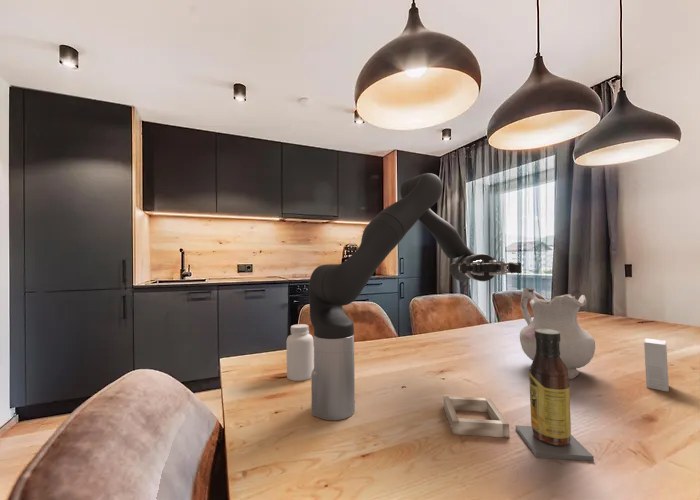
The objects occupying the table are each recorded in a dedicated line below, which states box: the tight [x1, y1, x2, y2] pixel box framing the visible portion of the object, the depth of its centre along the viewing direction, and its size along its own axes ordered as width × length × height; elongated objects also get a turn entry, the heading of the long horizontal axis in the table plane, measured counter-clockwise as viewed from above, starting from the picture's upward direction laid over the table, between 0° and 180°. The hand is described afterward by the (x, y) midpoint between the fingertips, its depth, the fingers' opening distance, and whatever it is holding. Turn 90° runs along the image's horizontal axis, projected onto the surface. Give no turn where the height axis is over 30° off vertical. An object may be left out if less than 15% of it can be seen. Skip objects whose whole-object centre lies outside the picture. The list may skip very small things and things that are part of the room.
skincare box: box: [643, 338, 670, 393], centre depth 83 cm, size 6×4×12 cm
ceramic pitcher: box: [519, 287, 596, 380], centre depth 97 cm, size 22×20×25 cm
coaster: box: [515, 424, 595, 462], centre depth 57 cm, size 9×9×1 cm
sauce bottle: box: [528, 329, 572, 446], centre depth 58 cm, size 7×6×20 cm
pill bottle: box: [286, 323, 314, 382], centre depth 93 cm, size 8×8×15 cm
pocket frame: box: [442, 395, 510, 439], centre depth 66 cm, size 10×11×2 cm
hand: (497, 268), depth 73 cm, fingers open, 8 cm apart
